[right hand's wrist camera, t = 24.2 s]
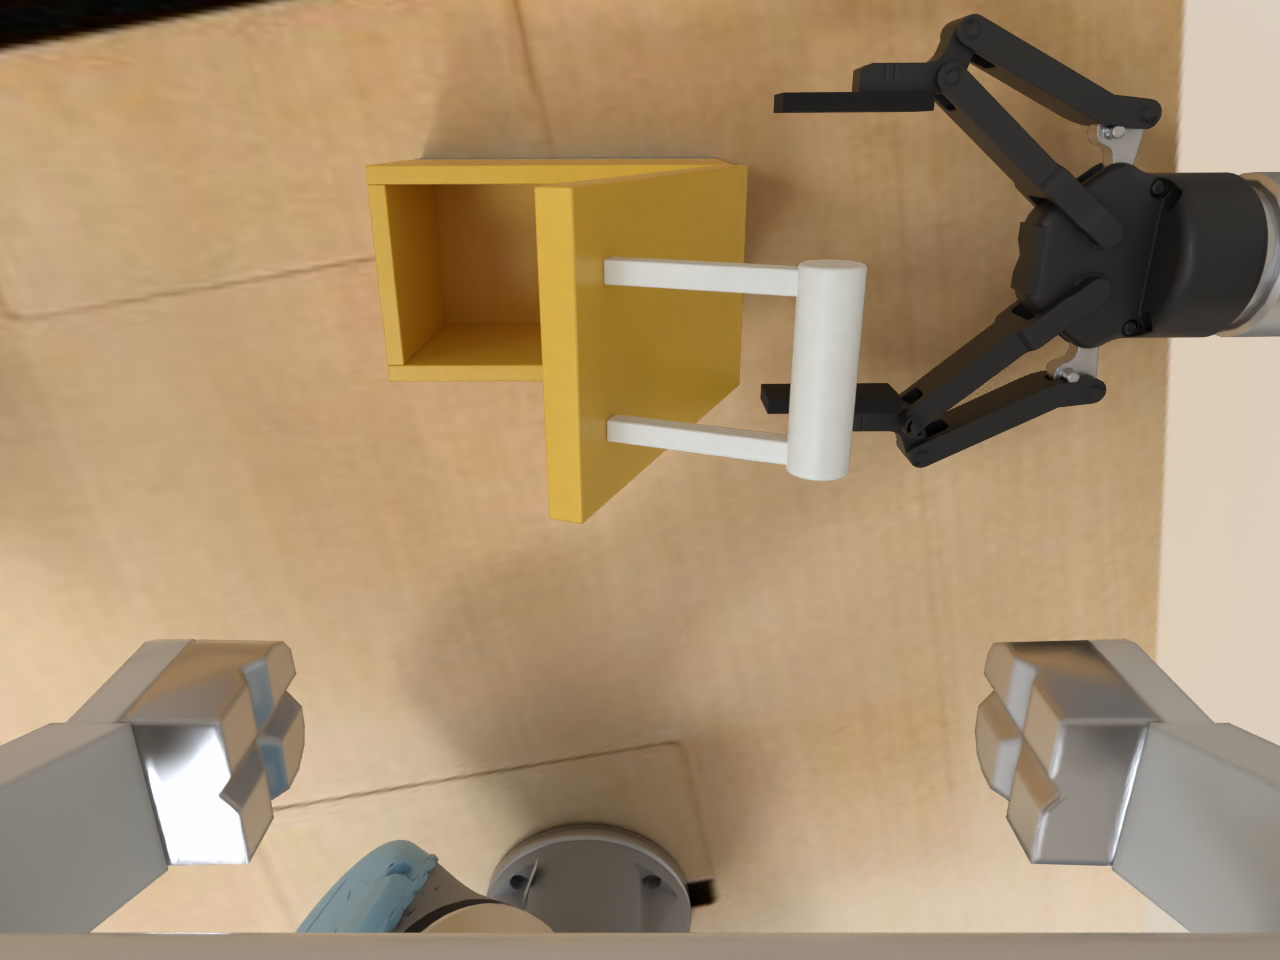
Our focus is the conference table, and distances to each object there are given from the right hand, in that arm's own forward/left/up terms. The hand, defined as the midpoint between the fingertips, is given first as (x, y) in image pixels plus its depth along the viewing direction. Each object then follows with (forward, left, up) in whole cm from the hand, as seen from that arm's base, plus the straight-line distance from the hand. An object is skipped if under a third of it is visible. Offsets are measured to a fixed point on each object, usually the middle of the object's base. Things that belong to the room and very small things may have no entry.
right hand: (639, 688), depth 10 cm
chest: (-2, -3, -41) cm, 41 cm away
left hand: (+3, +5, -34) cm, 34 cm away
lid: (0, 0, -23) cm, 23 cm away
